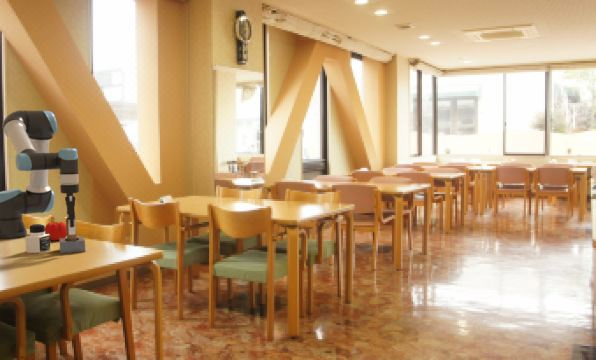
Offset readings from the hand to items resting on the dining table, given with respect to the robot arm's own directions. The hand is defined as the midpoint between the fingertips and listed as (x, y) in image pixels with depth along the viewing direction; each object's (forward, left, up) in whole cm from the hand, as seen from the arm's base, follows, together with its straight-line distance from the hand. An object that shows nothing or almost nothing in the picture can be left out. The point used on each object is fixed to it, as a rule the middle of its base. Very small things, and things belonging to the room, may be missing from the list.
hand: (71, 231), depth 242 cm
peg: (0, 0, -8) cm, 8 cm away
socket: (0, 0, -8) cm, 8 cm away
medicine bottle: (-5, -14, -9) cm, 17 cm away
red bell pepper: (-30, -6, -9) cm, 32 cm away
